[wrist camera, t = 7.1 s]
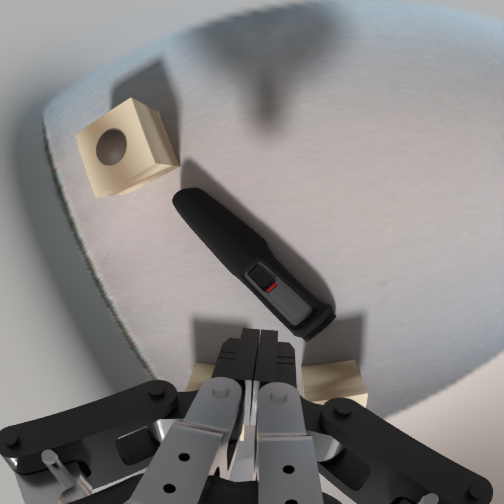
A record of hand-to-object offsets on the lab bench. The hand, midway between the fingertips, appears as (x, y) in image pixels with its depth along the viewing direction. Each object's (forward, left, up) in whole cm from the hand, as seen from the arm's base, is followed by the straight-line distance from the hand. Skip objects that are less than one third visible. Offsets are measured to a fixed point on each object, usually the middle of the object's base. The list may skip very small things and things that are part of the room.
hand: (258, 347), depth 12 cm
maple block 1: (+10, -9, -11) cm, 17 cm away
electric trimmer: (+1, 0, -11) cm, 11 cm away
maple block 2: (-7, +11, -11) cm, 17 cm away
